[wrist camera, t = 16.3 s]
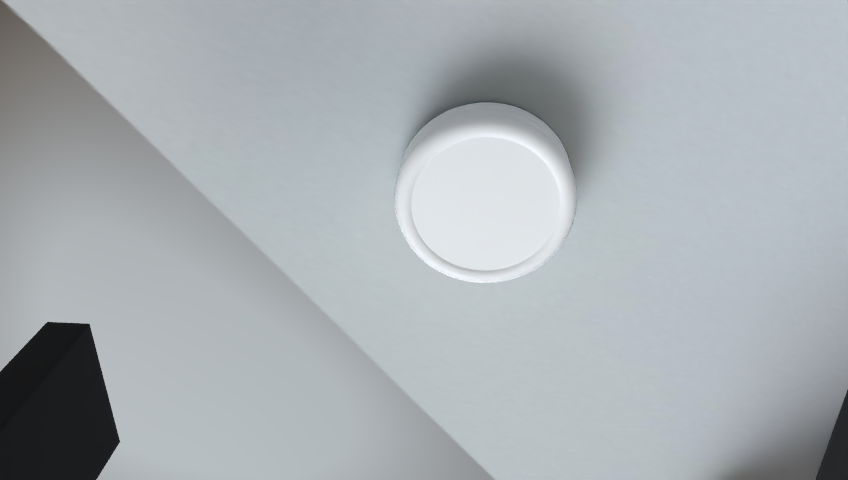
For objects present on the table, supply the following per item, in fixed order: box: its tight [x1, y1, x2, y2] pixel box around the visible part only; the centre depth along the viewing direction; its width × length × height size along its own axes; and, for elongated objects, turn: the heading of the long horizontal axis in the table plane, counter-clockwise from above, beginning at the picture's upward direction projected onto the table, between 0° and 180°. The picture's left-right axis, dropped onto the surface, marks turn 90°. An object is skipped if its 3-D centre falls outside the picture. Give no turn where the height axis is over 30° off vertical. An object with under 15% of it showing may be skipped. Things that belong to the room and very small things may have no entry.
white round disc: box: [395, 102, 577, 283], centre depth 40 cm, size 10×10×4 cm
